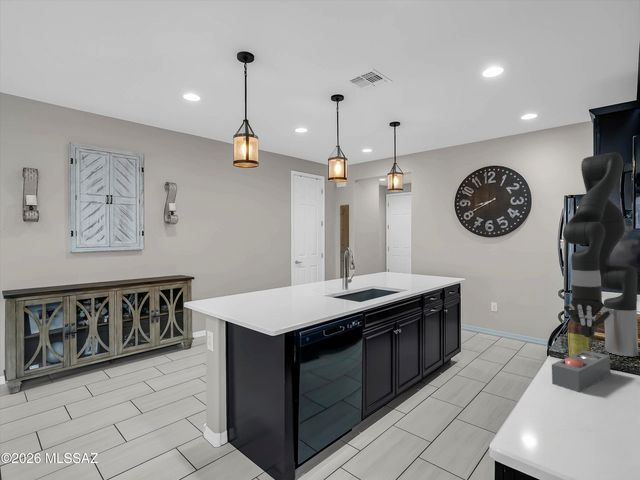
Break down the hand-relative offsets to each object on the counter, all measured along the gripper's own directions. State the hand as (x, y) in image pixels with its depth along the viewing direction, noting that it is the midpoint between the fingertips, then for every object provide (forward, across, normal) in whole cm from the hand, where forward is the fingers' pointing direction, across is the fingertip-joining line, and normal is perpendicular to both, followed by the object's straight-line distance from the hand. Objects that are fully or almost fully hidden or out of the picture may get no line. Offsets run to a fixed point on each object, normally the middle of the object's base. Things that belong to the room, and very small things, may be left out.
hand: (588, 336), depth 108 cm
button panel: (+12, 0, +6) cm, 13 cm away
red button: (+10, 0, +10) cm, 15 cm away
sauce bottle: (+13, +6, -10) cm, 17 cm away
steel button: (+11, 0, +1) cm, 11 cm away
